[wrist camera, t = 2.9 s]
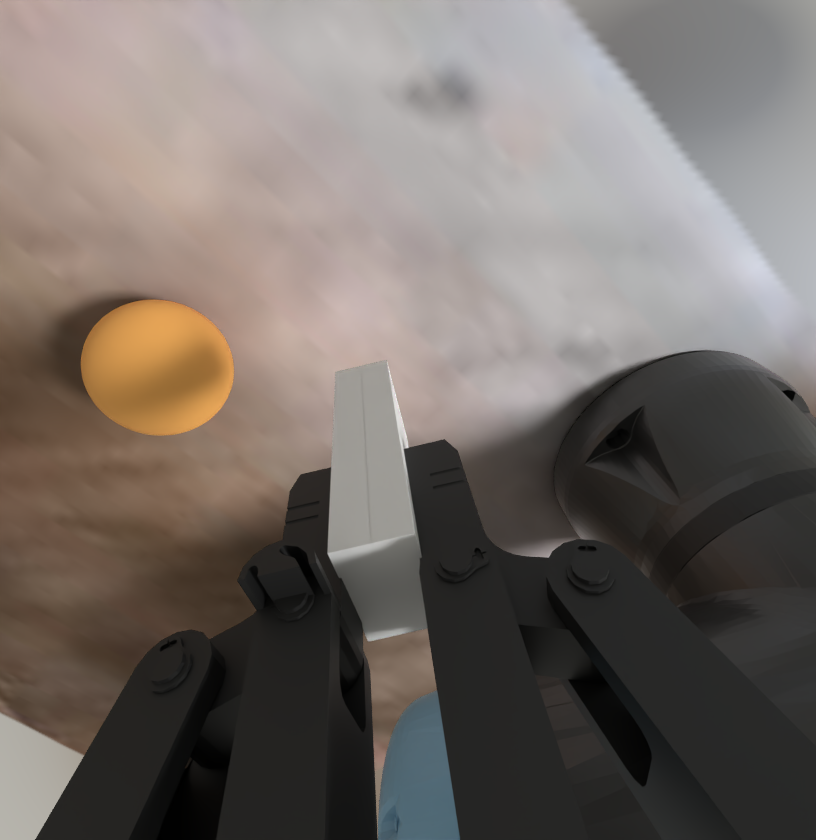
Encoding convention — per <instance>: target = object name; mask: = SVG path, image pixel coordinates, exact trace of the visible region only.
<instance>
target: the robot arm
mask: <svg viewBox="0 0 816 840" xmlns="http://www.w3.org/2000/svg"><path fill="white" fill-rule="evenodd" d="M554 488H555V493H556V496H557V499H558V502H559V504H560V506H561V508H562V510H563V511H564V513H565V515H566V517H567V519H568V520H569V522H570V524H571V526H572V527H573V529H574V530H575V532H576V533H577V534H578V535H579V537H580V538H581V539H578V540H574V541H570V542H566V543H563V544H562V545H561V546H559V547H558V548H556V549H555V550H554V551H552V553H551V555H550V557H549V558H543V557H526V556H520V555H514V554H511V553H508V552H506V551H503V550H501V549H500V548H498V547H497V546H495V545H494V544H493V543H492V542H491V541H490V540H489V539H488V538H487V536H486V534H485V532H484V530H483V527H482V524H481V521H480V518H479V515H478V512H477V509H476V506H475V503H474V500H473V497H472V494H471V491H470V488H469V485H468V482H467V478H466V475H465V472H464V469H463V466H462V463H461V460H460V457H459V454H458V451H457V450H456V449H455V448H454V447H453V446H451V445H450V444H449V443H448V442H447V441H446V440H445V439H444V440H440V441H436V442H431V443H427V444H423V445H419V446H414V447H410V448H409V446H408V441H407V436H406V432H405V428H404V424H403V420H402V416H401V413H400V409H399V405H398V401H397V397H396V393H395V390H394V386H393V382H392V378H391V374H390V370H389V367H388V363H387V360H384V361H380V362H375V363H371V364H367V365H363V366H359V367H354V368H350V369H346V370H342V371H338V372H335V395H334V417H333V440H332V462H331V468H327V469H322V470H318V471H314V472H310V473H305V474H301V475H300V476H299V478H298V479H297V481H296V483H295V484H294V486H293V487H292V489H291V490H290V494H289V501H288V507H287V509H288V511H287V514H286V520H285V523H286V526H285V527H284V534H283V540H281V541H279V542H276V543H274V544H271V545H268V546H266V547H265V548H263V549H262V550H261V551H259V552H258V553H256V554H255V555H253V557H252V558H251V559H250V560H249V561H248V562H247V564H246V565H245V566H244V567H243V569H242V571H241V573H240V576H239V578H238V580H237V581H238V583H239V584H240V586H241V587H242V589H243V590H244V592H245V593H246V595H247V596H248V598H249V599H250V601H251V602H252V604H253V605H254V607H255V608H256V610H257V611H256V612H255V613H254V614H253V615H252V616H250V617H249V618H247V619H246V620H244V621H243V622H241V623H239V624H238V625H236V626H234V627H232V628H230V629H228V630H226V631H224V632H223V633H221V634H219V635H217V636H215V637H213V638H211V639H208V638H207V637H206V636H205V634H204V633H203V632H199V631H195V630H187V631H181V632H177V633H175V634H173V635H171V636H169V637H167V638H165V639H163V640H161V641H160V642H159V643H158V644H157V645H156V646H154V647H153V648H152V649H151V650H150V651H149V652H147V654H146V655H145V656H144V658H143V659H142V660H141V662H140V663H139V664H138V666H137V667H136V668H135V670H134V672H133V673H132V675H131V677H130V679H129V680H128V682H127V684H126V685H125V687H124V689H123V691H122V692H121V694H120V696H119V697H118V699H117V701H116V703H115V704H114V706H113V708H112V709H111V711H110V713H109V714H108V716H107V718H106V720H105V721H104V723H103V725H102V726H101V728H100V730H99V732H98V733H97V735H96V737H95V738H94V740H93V742H92V744H91V745H90V747H89V749H88V750H87V752H86V754H85V756H84V757H83V759H82V761H81V762H80V764H79V766H78V768H77V769H76V771H75V773H74V774H73V776H72V778H71V780H70V781H69V783H68V785H67V786H66V788H65V790H64V791H63V793H62V795H61V797H60V799H59V800H58V802H57V803H56V805H55V807H54V809H53V810H52V812H51V814H50V815H49V817H48V819H47V821H46V822H45V824H44V826H43V828H42V829H41V831H40V833H39V834H38V836H37V838H36V839H35V840H816V418H815V417H814V416H813V415H812V414H811V413H810V411H809V409H808V406H807V405H806V403H805V401H804V400H803V398H802V397H801V396H800V394H799V393H798V392H797V391H796V389H795V388H794V387H793V386H791V385H790V384H789V383H788V382H787V381H786V380H784V379H783V378H781V377H780V376H778V375H777V374H775V373H773V372H772V371H770V370H768V369H767V368H765V367H763V366H762V365H760V364H758V363H757V362H755V361H753V360H751V359H749V358H747V357H744V356H741V355H738V354H734V353H728V352H720V351H703V352H693V353H687V354H682V355H677V356H674V357H670V358H667V359H664V360H661V361H658V362H656V363H653V364H650V365H648V366H646V367H644V368H642V369H640V370H638V371H636V372H634V373H632V374H630V375H629V376H627V377H625V378H624V379H622V380H621V381H619V382H618V383H616V384H615V385H613V386H612V387H611V388H609V389H608V390H607V391H605V392H604V393H603V394H602V395H601V396H599V397H598V398H597V399H596V400H595V401H594V402H593V403H592V404H591V405H590V406H589V407H588V408H587V409H586V410H585V411H584V412H583V413H582V415H581V416H580V417H579V418H578V420H577V421H576V422H575V424H574V425H573V426H572V428H571V430H570V431H569V433H568V434H567V436H566V438H565V440H564V442H563V444H562V446H561V448H560V451H559V454H558V457H557V460H556V465H555V470H554ZM426 628H428V634H429V640H430V647H431V653H432V660H433V666H434V673H435V679H436V686H437V691H434V692H432V693H429V694H427V695H424V696H422V697H420V698H418V699H417V700H415V701H414V702H413V703H411V704H410V705H409V706H408V707H407V708H406V710H405V711H404V712H403V713H402V715H401V716H400V718H399V720H398V722H397V724H396V726H395V728H394V730H393V733H392V736H391V739H390V742H389V745H388V749H387V753H386V757H385V762H384V767H383V774H382V782H381V790H380V800H379V817H378V818H379V819H378V839H377V819H376V818H377V817H376V795H375V771H374V748H373V726H372V703H371V681H370V669H369V665H368V661H367V658H366V656H365V654H364V652H363V631H364V633H365V635H366V637H367V640H368V642H369V641H373V640H377V639H382V638H386V637H391V636H395V635H400V634H404V633H409V632H413V631H417V630H422V629H426ZM362 629H363V630H362Z"/></svg>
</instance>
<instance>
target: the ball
mask: <svg viewBox="0 0 816 840" xmlns="http://www.w3.org/2000/svg"><path fill="white" fill-rule="evenodd" d="M81 372H82V378H83V382H84V385H85V387H86V390H87V392H88V394H89V396H90V397H91V399H92V401H93V402H94V403H95V405H96V406H97V407H98V408H99V409H100V410H101V411H102V412H103V413H104V414H105V415H106V416H107V417H109V418H110V419H111V420H113V421H114V422H116V423H117V424H119V425H121V426H123V427H125V428H127V429H130V430H133V431H136V432H139V433H143V434H149V435H174V434H180V433H183V432H186V431H190V430H192V429H195V428H197V427H199V426H200V425H202V424H204V423H205V422H207V421H208V420H210V419H211V418H212V417H213V416H214V415H215V414H216V413H217V412H218V411H219V410H220V409H221V408H222V406H223V404H224V403H225V401H226V400H227V398H228V396H229V393H230V391H231V388H232V383H233V378H234V365H233V358H232V354H231V351H230V349H229V346H228V344H227V342H226V340H225V338H224V336H223V335H222V334H221V332H220V331H219V330H218V328H217V327H216V326H215V325H214V324H213V323H212V322H211V321H210V320H208V319H207V318H206V317H205V316H203V315H202V314H200V313H199V312H197V311H195V310H194V309H192V308H189V307H187V306H185V305H182V304H179V303H176V302H172V301H166V300H141V301H135V302H132V303H128V304H125V305H122V306H120V307H118V308H116V309H114V310H112V311H111V312H109V313H108V314H107V315H105V316H104V317H103V318H102V319H101V320H100V321H99V322H98V323H97V324H96V325H95V326H94V327H93V328H92V330H91V331H90V333H89V335H88V337H87V339H86V341H85V343H84V346H83V351H82V355H81Z"/></svg>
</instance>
